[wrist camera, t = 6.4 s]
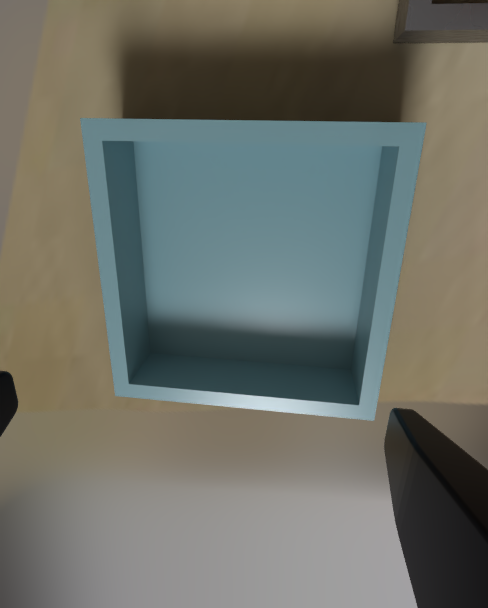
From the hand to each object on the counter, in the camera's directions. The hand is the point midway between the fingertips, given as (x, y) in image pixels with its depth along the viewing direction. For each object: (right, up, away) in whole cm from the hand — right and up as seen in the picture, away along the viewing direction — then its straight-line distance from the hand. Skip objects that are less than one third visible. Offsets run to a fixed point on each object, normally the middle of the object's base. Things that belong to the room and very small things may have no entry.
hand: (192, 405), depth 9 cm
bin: (+2, +5, +12) cm, 13 cm away
